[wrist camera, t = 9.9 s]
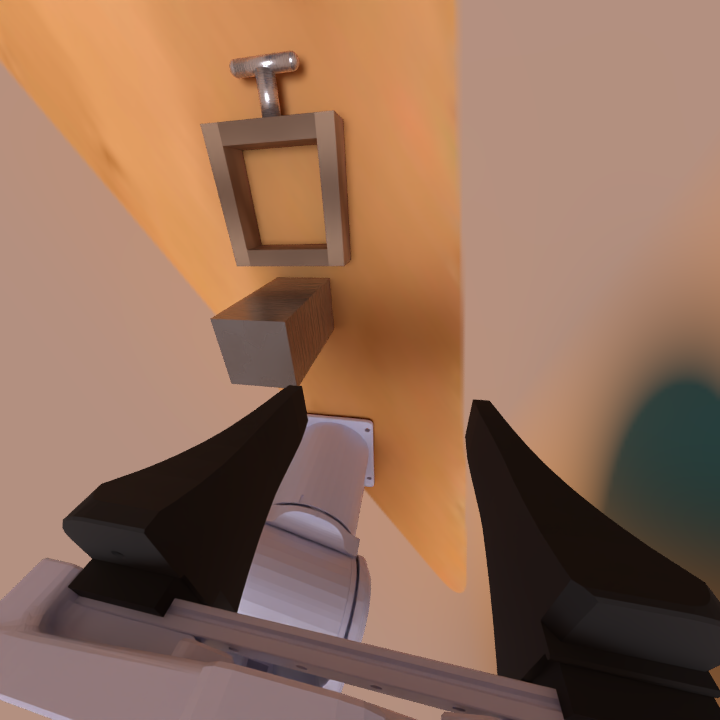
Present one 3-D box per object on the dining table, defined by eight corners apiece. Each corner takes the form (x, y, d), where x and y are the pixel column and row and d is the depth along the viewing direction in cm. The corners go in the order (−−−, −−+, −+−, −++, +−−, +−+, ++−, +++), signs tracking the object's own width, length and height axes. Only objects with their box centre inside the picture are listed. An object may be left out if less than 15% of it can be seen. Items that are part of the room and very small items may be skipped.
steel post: (334, 328, 22) (297, 389, 16) (286, 326, 23) (231, 383, 16) (329, 278, 20) (284, 321, 13) (277, 277, 21) (210, 318, 14)
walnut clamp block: (350, 259, 19) (344, 266, 18) (251, 259, 21) (237, 266, 19) (339, 53, 14) (328, 34, 12) (208, 71, 15) (183, 57, 14)
